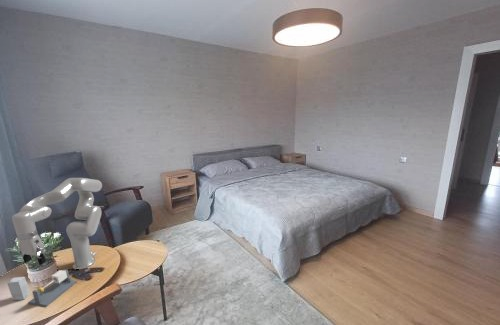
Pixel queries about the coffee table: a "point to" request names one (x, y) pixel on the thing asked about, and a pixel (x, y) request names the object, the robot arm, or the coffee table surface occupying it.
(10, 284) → the skincare box
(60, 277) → the sleeve
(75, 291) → the coffee table surface
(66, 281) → the slide rail
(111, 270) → the coffee table surface
